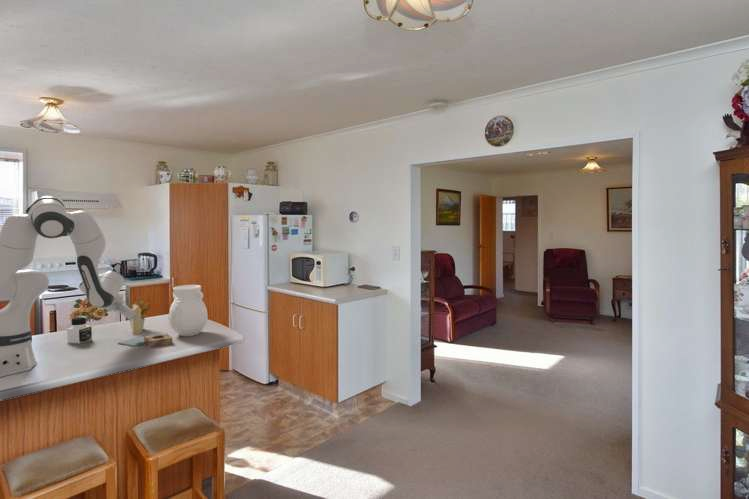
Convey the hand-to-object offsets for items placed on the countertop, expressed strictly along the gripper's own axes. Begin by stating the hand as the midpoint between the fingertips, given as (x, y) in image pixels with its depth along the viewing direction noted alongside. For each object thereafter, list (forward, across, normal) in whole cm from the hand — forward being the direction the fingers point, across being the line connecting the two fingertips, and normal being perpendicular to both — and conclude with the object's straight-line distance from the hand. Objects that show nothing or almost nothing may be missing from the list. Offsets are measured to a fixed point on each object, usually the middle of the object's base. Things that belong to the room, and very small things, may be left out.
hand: (137, 319), depth 207 cm
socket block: (+13, -8, +3) cm, 15 cm away
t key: (+4, 0, +5) cm, 7 cm away
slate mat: (+7, +1, +8) cm, 11 cm away
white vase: (+25, 0, -8) cm, 26 cm away
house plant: (+10, +24, +6) cm, 27 cm away
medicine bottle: (-8, +19, +24) cm, 31 cm away
